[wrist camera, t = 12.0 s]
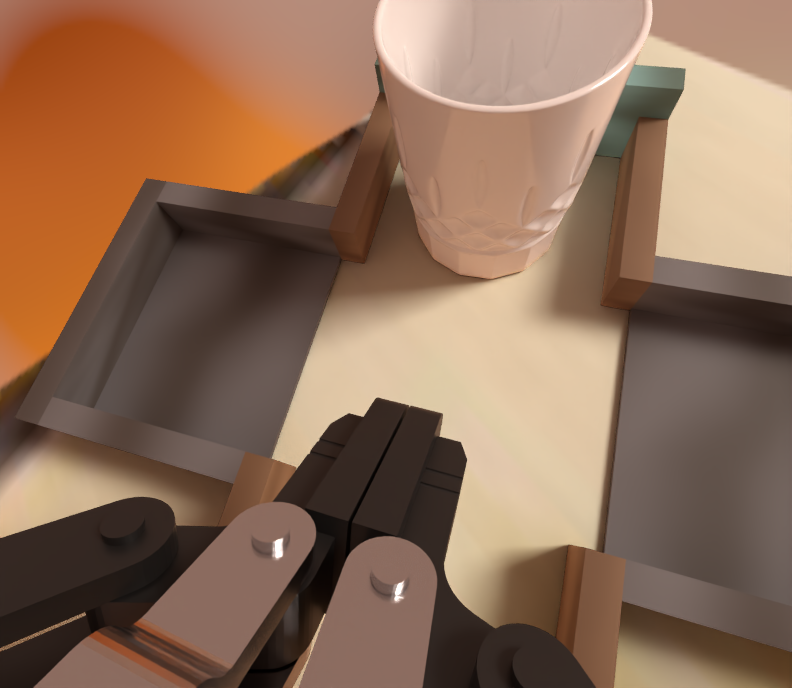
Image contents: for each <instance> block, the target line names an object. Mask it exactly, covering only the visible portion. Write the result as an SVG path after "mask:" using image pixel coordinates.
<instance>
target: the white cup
mask: <svg viewBox="0 0 792 688" xmlns="http://www.w3.org/2000/svg"><path fill="white" fill-rule="evenodd" d="M652 12H653V10H652V0H379V3H378V5H377V7H376V11H375V14H374V19H373V40H374V45H375V49H376V54H377V58H378V63H379V67H380V72H381V76H382V81H383V85H384V90H385V94H386V99H387V104H388V108H389V113H390V117H391V122H392V127H393V131H394V136H395V141H396V145H397V150H398V155H399V159H400V163H401V167H402V170H403V173H404V178H405V183H406V187H407V192H408V195H409V198H410V200H411V203H412V206H413V209H414V213H415V218H416V224H417V229H418V233H419V236H420V238H421V240H422V241H423V243H424V244H425V246H426V248H427V249H428V251H429V253H430V254H431V256H432V257H433V259H434V260H436V261H438V262H439V263H441V264H443V265H444V266H446V267H448V268H449V269H451V270H452V271H454V272H456V273H457V274H459V275H465V276H473V277H480V278H488V279H494V278H498V277H501V276H505V275H509V274H513V273H517V272H521V271H524V270H525V269H526V268H527V267H529V266H530V265H531V264H532V263H534V262H535V261H536V260H537V259H539V258H540V257H541V256H542V255H544V254H545V253H546V252H547V251H548V250H549V248H550V245H551V243H552V241H553V238H554V236H555V233H556V231H557V229H558V226H559V224H560V222H561V220H562V218H563V216H564V214H565V212H566V211H567V209H568V208H569V207H570V206H571V205H572V203H573V201H574V198H575V196H576V194H577V192H578V190H579V188H580V186H581V184H582V182H583V181H584V179H585V176H586V174H587V171H588V169H589V167H590V165H591V162H592V160H593V158H594V155H595V153H596V151H597V149H598V146H599V144H600V142H601V140H602V138H603V135H604V133H605V131H606V129H607V126H608V124H609V122H610V120H611V117H612V115H613V113H614V110H615V108H616V106H617V104H618V101H619V99H620V97H621V94H622V92H623V90H624V88H625V85H626V83H627V81H628V79H629V76H630V74H631V72H632V70H633V68H634V65H635V63H636V61H637V59H638V56H639V54H640V52H641V50H642V47H643V45H644V43H645V41H646V38H647V36H648V33H649V30H650V27H651V21H652Z"/></svg>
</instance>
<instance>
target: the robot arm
mask: <svg viewBox="0 0 792 688" xmlns="http://www.w3.org/2000/svg"><path fill="white" fill-rule="evenodd" d="M442 419H443V414H442V413H438V412H434V411H430V410H426V409H422V408H418V407H414V406H410V407H409V405H405V404H401V403H397V402H393V401H389V400H385V399H381V398H376V399H375V400H374V402H373V403H372V405H371V406H370V408H369V410H368V411H367V413H366V414H365V416H364V417H361V416H357V415H353V414H350V413H349V414H347V415H345V416H343V417H342V418H340V419H338V420H336V421H335V422H333V423H331V424H330V425H329V427H328V428H327V429H326V431H325V432H324V433H323V435H322V436H321V437H320V440H319V442H318V441H317V443H316V444H315V445H314V447H313V448H312V450H311V451H310V454H308V455H307V456H306V458H305V459H304V460H303V462H302V463H301V464H300V466H299V467H298V468H297V470H296V471H295V472H294V474H293V475H292V476H291V478H290V479H289V480H288V482H287V483H286V484H285V486H284V487H283V488H282V490H281V491H280V492H279V494H278V495H277V496H276V498H275V499H274V500H273V502H268V503H263V504H259V505H256V506H253V507H251V508H249V509H247V510H245V511H244V512H242V513H241V514H239V515H238V516H237V517H236V518H235V519H234V520H233V521H232V522H231V523H230V524H229V525H228V526H217V527H211V526H176V522H175V516H174V513H173V511H172V509H171V508H170V506H169V505H168V504H166V503H165V502H163V501H161V500H158V499H155V498H150V497H133V498H127V499H123V500H119V501H116V502H113V503H109V504H106V505H103V506H100V507H97V508H94V509H91V510H88V511H84V512H81V513H78V514H75V515H72V516H69V517H66V518H62V519H59V520H56V521H53V522H50V523H47V524H44V525H41V526H37V527H34V528H31V529H28V530H25V531H22V532H19V533H15V534H12V535H9V536H6V537H3V538H0V648H1V647H3V646H6V645H8V644H11V643H13V642H15V641H18V640H20V639H22V638H25V637H27V636H29V635H32V634H34V633H37V632H39V631H41V630H44V629H46V628H48V627H51V626H53V625H55V624H58V623H60V622H63V621H65V620H67V619H70V618H72V617H74V616H77V615H79V614H81V613H84V612H85V613H86V616H84V617H81V618H79V619H77V620H74V621H72V622H70V623H67V624H65V625H63V626H60V627H58V628H56V629H53V630H51V631H49V632H46V633H44V634H41V635H39V636H37V637H34V638H32V639H30V640H27V641H25V642H23V643H20V644H18V645H16V646H13V647H11V648H9V649H6V650H4V651H1V652H0V688H293V686H294V684H295V682H296V680H297V678H298V676H299V675H300V673H301V671H302V669H303V667H304V665H305V663H306V661H307V659H308V657H309V654H310V650H311V643H312V639H313V637H314V635H315V633H316V631H317V628H318V626H319V624H320V622H321V620H322V618H323V615H324V613H325V614H326V615H325V618H324V621H323V623H322V626H321V629H320V632H319V634H318V637H317V640H316V642H315V645H314V648H313V651H312V653H311V656H310V659H309V661H308V664H307V667H306V670H305V672H304V675H303V678H302V680H301V683H300V686H299V688H596V687H595V685H594V684H593V682H592V681H591V679H590V678H589V677H588V675H587V674H586V672H585V671H584V669H583V668H582V666H581V665H580V664H579V662H578V661H577V659H576V658H575V657H574V656H573V654H572V653H571V652H570V651H569V650H568V649H567V648H566V647H565V646H564V645H563V644H562V643H561V642H560V641H559V640H557V639H556V638H555V637H554V636H552V635H550V634H549V633H547V632H545V631H543V630H541V629H539V628H537V627H534V626H530V625H527V624H518V623H517V624H507V625H503V626H500V627H498V628H496V629H495V628H493V627H492V626H491V625H489V624H488V623H486V622H485V621H483V620H482V619H481V618H479V617H478V616H476V615H475V614H473V613H472V612H471V611H470V610H468V609H467V608H466V607H465V606H464V605H463V604H462V603H461V602H460V601H459V600H458V598H457V597H456V596H455V594H454V593H453V591H452V590H451V588H450V586H449V584H448V581H447V579H446V575H445V571H444V561H445V557H446V553H447V548H448V544H449V540H450V535H451V531H452V527H453V522H454V518H455V513H456V509H457V504H458V500H459V495H460V490H461V486H462V481H463V476H464V472H465V467H466V463H467V458H466V455H465V453H464V450H463V447H462V444H461V442H458V441H454V440H450V439H446V438H443V437H439V436H440V431H441V425H442Z"/></svg>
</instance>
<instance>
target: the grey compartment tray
mask: <svg viewBox="0 0 792 688" xmlns="http://www.w3.org/2000/svg"><path fill="white" fill-rule="evenodd" d="M375 68H376V74H377V80H378V85H379V91H380V93H379V96H378V98H377V101H376V104H375V106H374V109H373V112H372V114H371V117H370V120H369V122H368V125H367V128H366V130H365V133H364V136H363V138H362V141H361V144H360V146H359V149H358V152H357V154H356V157H355V160H354V162H353V165H352V168H351V171H350V173H349V176H348V179H347V181H346V184H345V187H344V189H343V192H342V195H341V197H340V200H339V203H338V205H337V207H331V206H324V205H317V204H311V203H304V202H298V201H291V200H285V199H278V198H271V197H265V196H258V195H252V194H245V193H238V192H232V191H225V190H218V189H212V188H206V187H199V186H192V185H186V184H179V183H173V182H166V181H160V180H153V179H146V180H145V182H144V183H143V186H142V187H141V189H140V191H139V193H138V194H137V196H136V198H135V200H134V202H133V203H132V205H131V207H130V209H129V211H128V212H127V215H126V216H125V218H124V220H123V222H122V223H121V225H120V227H119V229H118V231H117V232H116V234H115V236H114V238H113V240H112V242H111V243H110V245H109V247H108V249H107V251H106V252H105V254H104V256H103V258H102V260H101V261H100V263H99V265H98V267H97V269H96V271H95V273H94V274H93V276H92V278H91V280H90V281H89V283H88V285H87V287H86V289H85V291H84V292H83V294H82V296H81V298H80V300H79V302H78V303H77V305H76V307H75V309H74V311H73V312H72V314H71V316H70V318H69V320H68V321H67V323H66V325H65V327H64V329H63V330H62V332H61V334H60V336H59V338H58V340H57V341H56V343H55V345H54V347H53V349H52V350H51V352H50V354H49V356H48V358H47V360H46V361H45V363H44V365H43V367H42V369H41V370H40V372H39V374H38V376H37V378H36V379H35V381H34V383H33V385H32V387H31V389H30V390H29V392H28V394H27V396H26V398H25V399H24V401H23V403H22V405H21V407H20V409H19V410H18V412H17V414H16V416H15V418H17V419H20V420H23V421H27V422H30V423H33V424H36V425H40V426H43V427H46V428H50V429H53V430H56V431H60V432H63V433H66V434H70V435H73V436H76V437H80V438H83V439H86V440H90V441H93V442H96V443H99V444H103V445H106V446H109V447H113V448H116V449H119V450H123V451H126V452H129V453H133V454H136V455H139V456H143V457H146V458H149V459H153V460H156V461H159V462H162V463H166V464H169V465H172V466H176V467H179V468H182V469H186V470H189V471H192V472H196V473H199V474H202V475H206V476H209V477H212V478H216V479H219V480H222V481H225V482H229V483H232V484H233V486H232V489H231V492H230V494H229V497H228V500H227V503H226V505H225V508H224V511H223V513H222V516H221V519H220V521H219V524H218V526H228V525H229V524H230V523H231V522H232V521H233V520H234V519H235V518H236V517H237V516H238V515H239V514H241V513H242V512H244V511H245V510H247V509H249V508H251V507H253V506H256V505H259V504H263V503H268V502H273V500H274V499H275V498H276V496H277V495H278V494H279V492H280V491H281V490H282V488H283V487H284V486H285V484H286V483H287V482H288V480H289V479H290V478H291V476H292V475H293V474H294V472H295V470H296V467H294V466H291V465H288V464H285V463H282V462H280V461H277V460H274V459H271V458H272V455H273V452H274V449H275V446H276V444H277V441H278V438H279V435H280V432H281V429H282V427H283V424H284V421H285V418H286V415H287V413H288V410H289V407H290V404H291V401H292V398H293V396H294V393H295V390H296V387H297V384H298V381H299V379H300V376H301V373H302V370H303V367H304V364H305V362H306V359H307V356H308V353H309V350H310V347H311V345H312V342H313V339H314V336H315V333H316V330H317V328H318V325H319V322H320V319H321V316H322V313H323V311H324V308H325V305H326V302H327V299H328V297H329V294H330V291H331V288H332V285H333V282H334V280H335V277H336V274H337V271H338V268H339V265H340V263H341V260H348V261H353V262H359V263H365V261H366V258H367V255H368V252H369V249H370V246H371V243H372V240H373V237H374V234H375V231H376V228H377V225H378V222H379V219H380V216H381V213H382V210H383V207H384V204H385V201H386V198H387V195H388V192H389V189H390V186H391V183H392V180H393V177H394V174H395V171H396V168H397V165H398V162H399V155H398V150H397V145H396V141H395V136H394V131H393V127H392V122H391V117H390V113H389V108H388V104H387V99H386V94H385V90H384V85H383V81H382V76H381V72H380V67H379V63H378V58H377V60H376V63H375ZM684 80H685V69H683V68H669V67H656V66H642V65H634V68H633V70H632V72H631V74H630V76H629V79H628V81H627V83H626V85H625V88H624V90H623V92H622V94H621V97H620V99H619V101H618V104H617V106H616V108H615V110H614V113H613V115H612V117H611V120H610V122H609V124H608V126H607V129H606V131H605V133H604V135H603V138H602V140H601V142H600V144H599V146H598V149H597V151H596V153H595V155H600V156H609V157H618V158H621V160H620V167H619V174H618V182H617V189H616V197H615V204H614V211H613V219H612V226H611V233H610V241H609V248H608V256H607V263H606V270H605V278H604V285H603V293H602V300H601V305H602V306H608V307H613V308H619V309H625V310H630V313H629V322H628V331H627V340H626V349H625V358H624V367H623V376H622V385H621V394H620V403H619V412H618V421H617V430H616V439H615V448H614V457H613V466H612V474H611V483H610V492H609V501H608V510H607V519H606V528H605V537H604V546H603V553H602V552H598V551H595V550H591V549H588V548H584V547H578V546H573V545H568V551H567V559H566V566H565V574H564V581H563V588H562V596H561V603H560V611H559V618H558V625H557V633H556V639H557V640H559V641H560V642H561V643H562V644H563V645H564V646H565V647H566V648H567V649H568V650H569V651H570V652H571V653H572V654H573V656H574V657H575V658H576V659H577V661H578V662H579V664H580V665H581V666H582V668H583V669H584V671H585V672H586V674H587V675H588V677H589V678H590V679H591V681H592V682H593V684H594V685H595V687H596V688H614V679H615V668H616V658H617V648H618V637H619V627H620V616H621V606H622V601H623V602H627V603H630V604H633V605H637V606H640V607H643V608H647V609H650V610H653V611H657V612H660V613H663V614H667V615H670V616H673V617H676V618H680V619H683V620H686V621H690V622H693V623H696V624H700V625H703V626H706V627H710V628H713V629H716V630H720V631H723V632H726V633H730V634H733V635H736V636H739V637H743V638H746V639H749V640H753V641H756V642H759V643H763V644H766V645H769V646H773V647H776V648H779V649H783V650H786V651H789V652H792V277H791V276H784V275H778V274H771V273H764V272H758V271H751V270H745V269H738V268H732V267H725V266H718V265H712V264H705V263H699V262H692V261H686V260H679V259H672V258H666V257H659V256H655V252H656V241H657V231H658V220H659V210H660V200H661V189H662V179H663V168H664V158H665V147H666V137H667V127H668V119H669V117H670V115H671V113H672V111H673V109H674V107H675V105H676V103H677V102H678V100H679V98H680V96H681V94H682V92H683V90H684Z"/></svg>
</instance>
